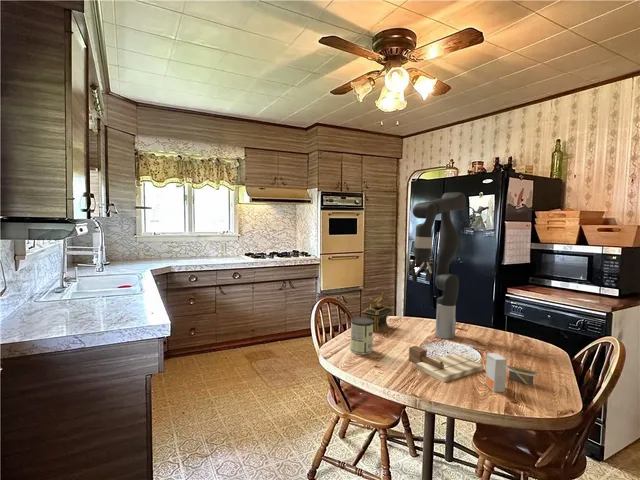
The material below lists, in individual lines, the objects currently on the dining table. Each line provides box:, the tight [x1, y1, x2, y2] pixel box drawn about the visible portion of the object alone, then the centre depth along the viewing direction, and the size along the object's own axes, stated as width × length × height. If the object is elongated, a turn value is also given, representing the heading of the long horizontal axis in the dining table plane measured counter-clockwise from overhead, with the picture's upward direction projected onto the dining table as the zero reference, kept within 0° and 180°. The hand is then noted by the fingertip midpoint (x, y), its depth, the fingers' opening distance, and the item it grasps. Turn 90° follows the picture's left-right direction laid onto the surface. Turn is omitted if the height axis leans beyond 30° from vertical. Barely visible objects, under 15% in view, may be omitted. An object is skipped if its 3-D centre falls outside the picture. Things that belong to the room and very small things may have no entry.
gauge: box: [408, 345, 444, 369], centre depth 147 cm, size 4×17×6 cm, turn 31°
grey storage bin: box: [506, 363, 538, 386], centre depth 135 cm, size 12×18×7 cm, turn 59°
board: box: [415, 353, 485, 383], centre depth 145 cm, size 24×14×2 cm, turn 121°
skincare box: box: [484, 352, 507, 393], centre depth 129 cm, size 6×4×12 cm
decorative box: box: [362, 291, 393, 333], centre depth 197 cm, size 20×10×20 cm, turn 141°
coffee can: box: [349, 316, 374, 355], centre depth 162 cm, size 10×10×14 cm
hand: (421, 282), depth 163 cm, fingers open, 8 cm apart
